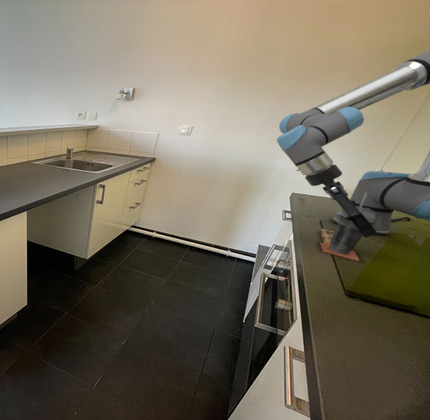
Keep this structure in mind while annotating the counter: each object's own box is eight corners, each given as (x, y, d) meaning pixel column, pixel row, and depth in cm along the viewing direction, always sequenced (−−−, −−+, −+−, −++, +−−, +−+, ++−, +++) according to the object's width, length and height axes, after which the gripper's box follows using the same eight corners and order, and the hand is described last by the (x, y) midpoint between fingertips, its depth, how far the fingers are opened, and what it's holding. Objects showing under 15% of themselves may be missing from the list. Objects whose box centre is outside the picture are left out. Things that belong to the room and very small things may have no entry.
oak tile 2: (322, 238, 89) (324, 234, 88) (346, 244, 85) (348, 240, 84) (324, 244, 84) (326, 239, 84) (349, 250, 81) (352, 246, 80)
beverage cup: (362, 258, 76) (399, 198, 68) (334, 255, 77) (368, 195, 69) (341, 247, 82) (373, 190, 75) (316, 244, 84) (345, 188, 76)
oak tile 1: (319, 232, 94) (321, 228, 93) (342, 237, 90) (344, 233, 89) (321, 237, 89) (323, 233, 89) (345, 243, 86) (348, 239, 85)
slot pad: (320, 243, 85) (320, 242, 85) (354, 251, 80) (354, 251, 80) (322, 251, 79) (323, 251, 79) (359, 261, 75) (359, 261, 74)
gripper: (301, 171, 89) (342, 223, 85) (306, 182, 72) (357, 247, 69) (329, 159, 84) (374, 213, 80) (341, 168, 67) (398, 237, 64)
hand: (366, 229), depth 75 cm, fingers open, 11 cm apart
